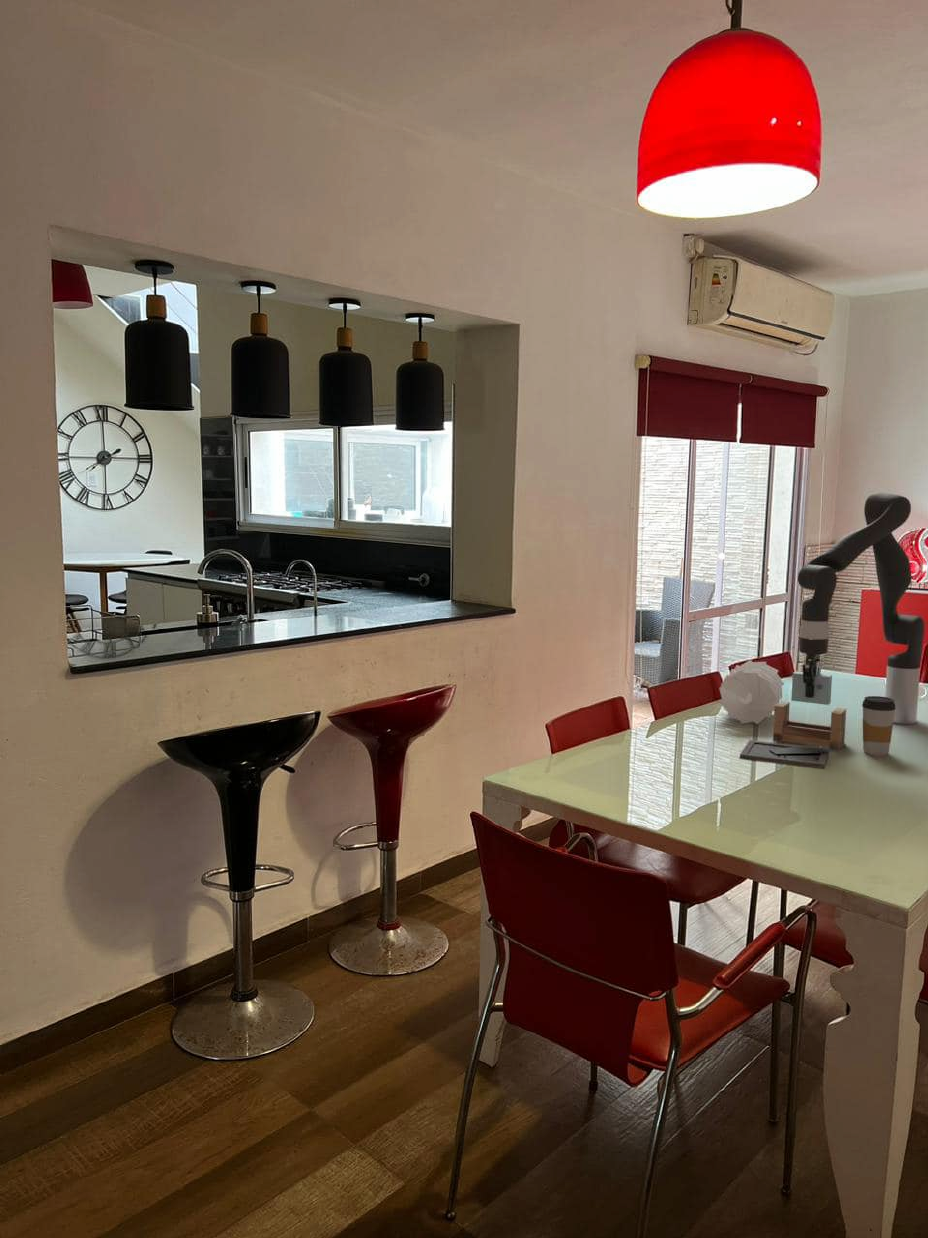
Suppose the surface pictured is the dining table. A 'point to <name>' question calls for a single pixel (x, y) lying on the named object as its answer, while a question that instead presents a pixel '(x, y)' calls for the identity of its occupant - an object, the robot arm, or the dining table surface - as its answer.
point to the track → (809, 728)
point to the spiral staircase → (751, 691)
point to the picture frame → (786, 753)
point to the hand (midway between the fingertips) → (810, 695)
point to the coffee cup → (877, 724)
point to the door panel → (820, 689)
